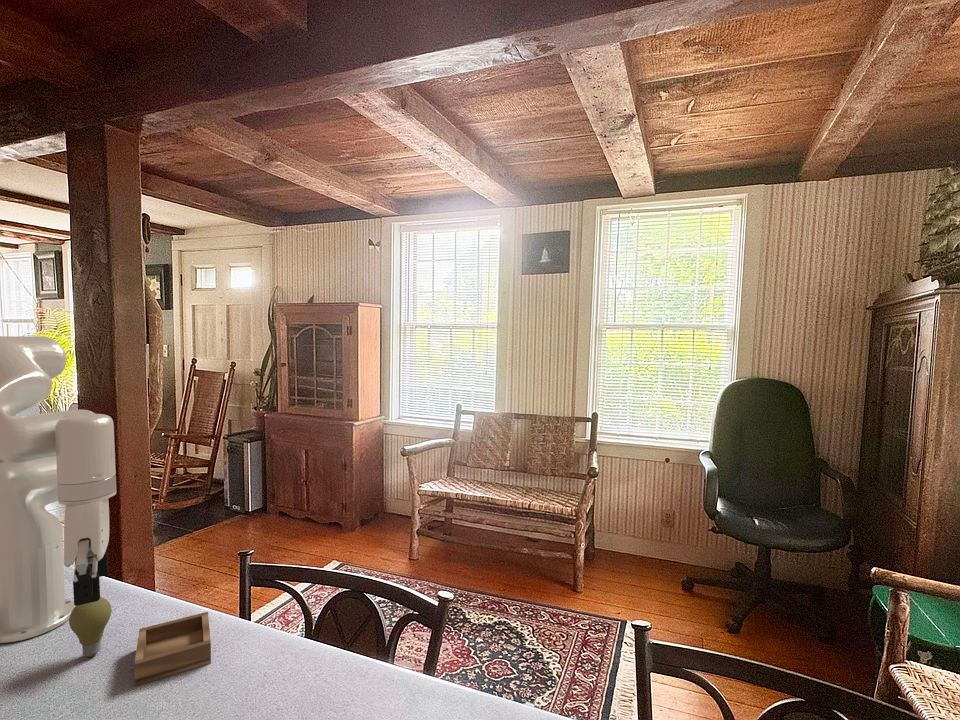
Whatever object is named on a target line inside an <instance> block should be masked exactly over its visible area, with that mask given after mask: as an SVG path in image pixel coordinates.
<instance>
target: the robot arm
mask: <svg viewBox="0 0 960 720" xmlns="http://www.w3.org/2000/svg"><path fill="white" fill-rule="evenodd" d="M66 365H67V355H66V352H65V349H64V348H63V346H62V345H61V344H60V343H59V341H57V340H55V339H53V338H51V337H48V336H39V335H38V336H37V335H35V336H25V335H23V336H22V335H21V336H17V335H16V336H15V335H14V336H13V335H12V336H2V335H1V336H0V644H5V643H6V644H9V643H14V642H19V641H25V640H27V639H31V638H35V637H37V636H40V635H43V634H45V633H48V632H50V631H52V630H54V629H56V628H58V627H60V626H62V625H63V624H64V623H66V622H67V621H69V617H70V614H71V612H72V610H73V609H74V608H75V606H78V605H83V604H87V603H91V602H96V601H98V600H99V599H100V597H101V585H100V583H101V582H100V577H106V576H108V574H109V556H108V551H107V548H108V545H109V542H110V541H109V540H110V507H109V504H110V503H109V499H110V498H112V497H114V496H115V495H116V494H117V476H116V473H117V471H116V450H115V444H116V443H115V424H114V420H113V418H112V417H111V416H109V414H108V415H107V414H103V413H95V412H94V411H91V410H88V409H71V410H70V409H68V410H63V411H62V410H61V411H52V412H43V413H41V412H40V413H34V414H32V413H31V414H25V415H24V414H23V415H19V414H22V413H24V412H26V411H28V410H30V409H32V408H35V407H37V406H38V405H40V404H41V403H42V402H43V401H45V400H46V399H47V398H48V397H49V395H50V394H51V392H52V390H53V381H52V379H55V378H56V377H58V376H59V375H61V374H62V373H63V371H64V370H65V368H66ZM18 415H19V416H18ZM56 502H58V504H59V505H64V506H65V508H64V509H65V510H64V519H63V520H64V521H63V524H62V523H61V520H60V519H59V517H57V516H55V515H54V514H52V513H51V512H49V511H48V510H47V509H46V506H47V505H50V504H53V503H56ZM72 565H74V570H73V581H72V586H73V587H72V589H73V600H71V599H70V598H69V599H68V598H66V597H65V568H70V567H71V566H72ZM64 566H65V567H64Z"/></svg>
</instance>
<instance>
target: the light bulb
mask: <svg viewBox="0 0 960 720" xmlns="http://www.w3.org/2000/svg"><path fill="white" fill-rule="evenodd" d="M111 615H112V606H111V603H110V601H109V600H108V599H107V598H104V597H102V596H100V599H99V600H98V601H96V602H91V603H87V604H83V605H78V606H75V608H74V609H73V610H72V612H71V614H70V617H69V619H68V624H69V627H70V629H71V631H72V632H73V633H74V634H75V635H76V637H77V638H78V641H79V644H81V647H82V656H84V657H88V658H92V657H94V656H95V655H97V654H98V653H99V652H100V651H101V649H102V646H101V645H102V643H101V640H102V638H103V636H104V631H105V629H106V627H107V624H108V623H109V620H110V618H111Z"/></svg>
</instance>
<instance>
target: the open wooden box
mask: <svg viewBox="0 0 960 720" xmlns="http://www.w3.org/2000/svg"><path fill="white" fill-rule="evenodd" d="M209 618H210V617H209V611H204V612H201V613H200V612H199V613H198V614H197V613H196V614H193V615H189V616H185V617H182V618H177V619H173V620H170V621H166V622H162V623H158V624H153V625H150V626H145V627H142V628H138V629H139V630H138V636H137V637H138V638H137V644H136V650H135V657H134V662H133V663H134V664H133V665H134V668H133V669H134V687H137V686H140V685H143V684H146V683H149V682H153V681H157V680H160V679H164V678H166V677H170V676H172V675H176V674H179V673H183V672H185V671H189V670H193V669H197V668H200V667H202V666H206V665H208V664H212V649H211V648H212V647H211V646H212V642H211V629H210V619H209Z"/></svg>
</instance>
